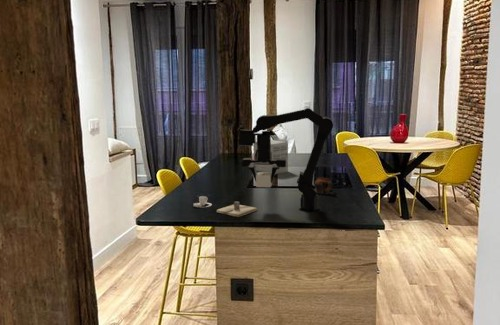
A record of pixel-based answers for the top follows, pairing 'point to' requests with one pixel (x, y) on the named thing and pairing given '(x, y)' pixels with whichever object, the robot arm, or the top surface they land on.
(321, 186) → the pottery mug
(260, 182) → the small white box
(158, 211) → the top surface
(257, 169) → the supplement box
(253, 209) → the board
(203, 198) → the white ring with cylinder
